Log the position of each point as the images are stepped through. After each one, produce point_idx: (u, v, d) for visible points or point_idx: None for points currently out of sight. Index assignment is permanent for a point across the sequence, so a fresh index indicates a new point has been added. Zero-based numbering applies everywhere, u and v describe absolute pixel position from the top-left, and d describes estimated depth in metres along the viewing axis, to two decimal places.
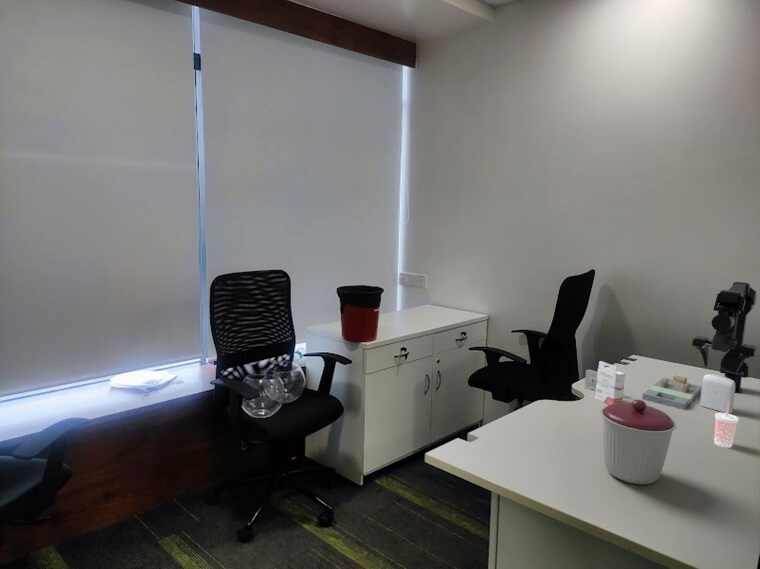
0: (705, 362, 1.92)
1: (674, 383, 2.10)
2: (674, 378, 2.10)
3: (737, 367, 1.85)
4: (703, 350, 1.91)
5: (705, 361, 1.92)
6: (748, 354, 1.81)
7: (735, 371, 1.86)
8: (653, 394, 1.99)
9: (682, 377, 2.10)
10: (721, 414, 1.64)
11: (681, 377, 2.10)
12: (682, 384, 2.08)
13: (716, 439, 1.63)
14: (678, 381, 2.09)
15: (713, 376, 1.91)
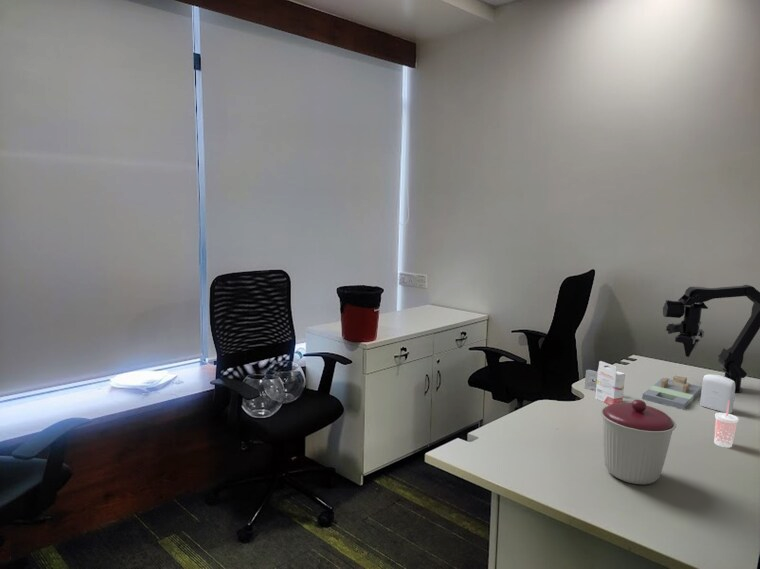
0: None
1: (674, 383, 2.10)
2: (674, 378, 2.10)
3: None
4: None
5: None
6: None
7: None
8: (653, 394, 1.99)
9: (682, 377, 2.10)
10: (721, 414, 1.64)
11: (681, 377, 2.10)
12: (682, 384, 2.08)
13: (716, 439, 1.63)
14: (678, 381, 2.09)
15: (713, 376, 1.91)
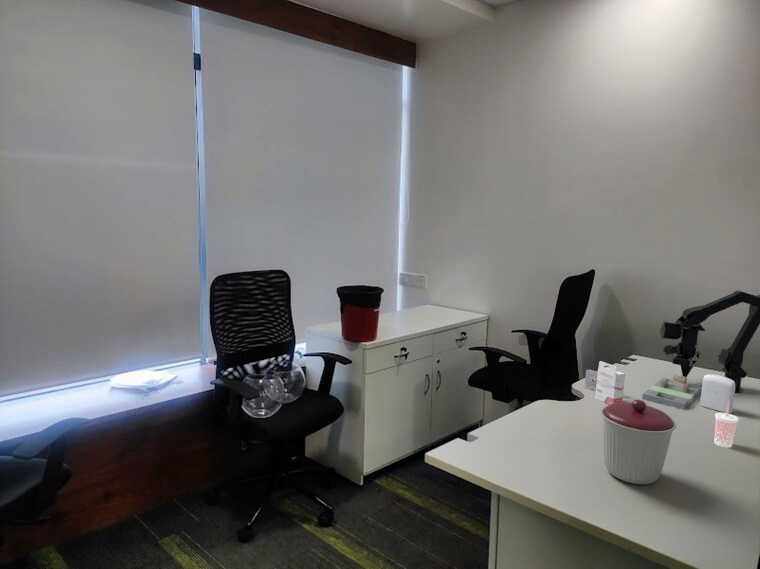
0: None
1: (674, 383, 2.10)
2: (674, 378, 2.10)
3: None
4: None
5: None
6: None
7: None
8: (653, 394, 1.99)
9: (682, 377, 2.10)
10: (721, 414, 1.64)
11: (681, 377, 2.10)
12: (682, 384, 2.08)
13: (716, 439, 1.63)
14: (678, 381, 2.09)
15: (713, 376, 1.91)
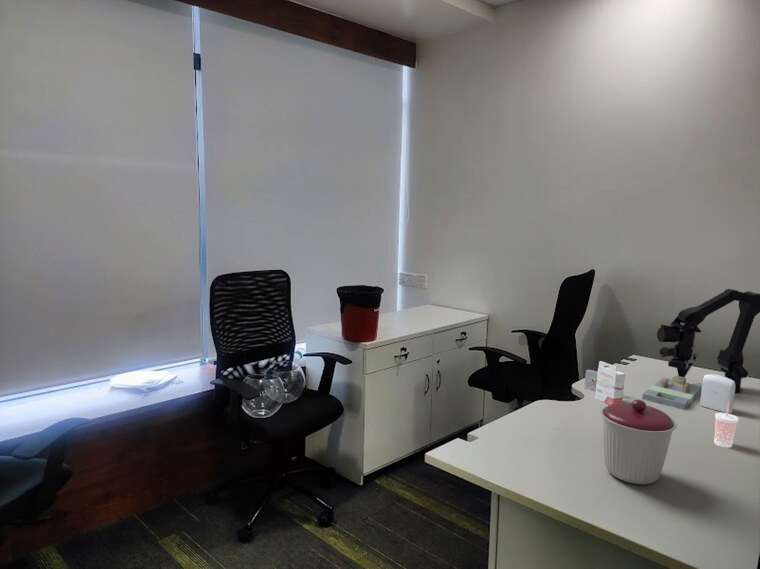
0: (679, 375, 2.13)
1: (673, 384, 2.09)
2: (673, 379, 2.09)
3: None
4: None
5: None
6: None
7: None
8: (653, 394, 1.99)
9: (681, 378, 2.09)
10: (721, 414, 1.64)
11: (680, 378, 2.09)
12: (681, 385, 2.07)
13: (716, 439, 1.63)
14: (677, 382, 2.08)
15: (713, 376, 1.91)
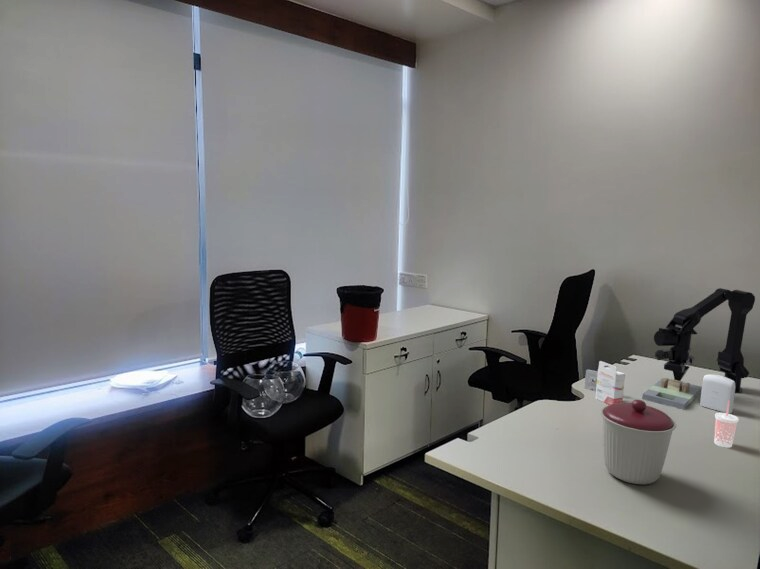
0: None
1: (669, 387, 2.05)
2: (669, 382, 2.05)
3: None
4: None
5: None
6: None
7: None
8: (653, 394, 1.99)
9: (677, 381, 2.05)
10: (721, 414, 1.64)
11: (676, 381, 2.05)
12: (677, 388, 2.03)
13: (716, 439, 1.63)
14: (673, 385, 2.04)
15: (713, 376, 1.91)
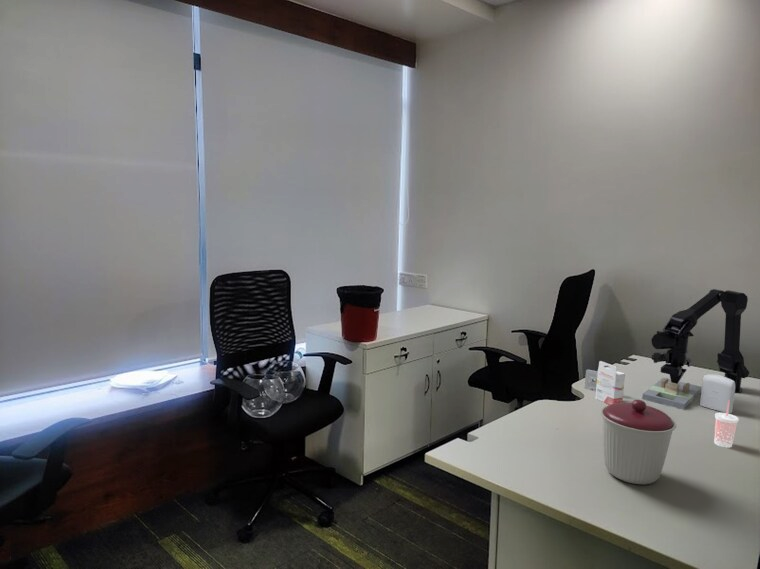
0: (672, 382, 2.05)
1: (666, 390, 2.02)
2: (666, 385, 2.01)
3: None
4: None
5: None
6: None
7: None
8: (653, 394, 1.99)
9: (674, 384, 2.01)
10: (721, 414, 1.64)
11: (673, 384, 2.01)
12: (674, 392, 2.00)
13: (716, 439, 1.63)
14: (670, 388, 2.00)
15: (713, 376, 1.91)
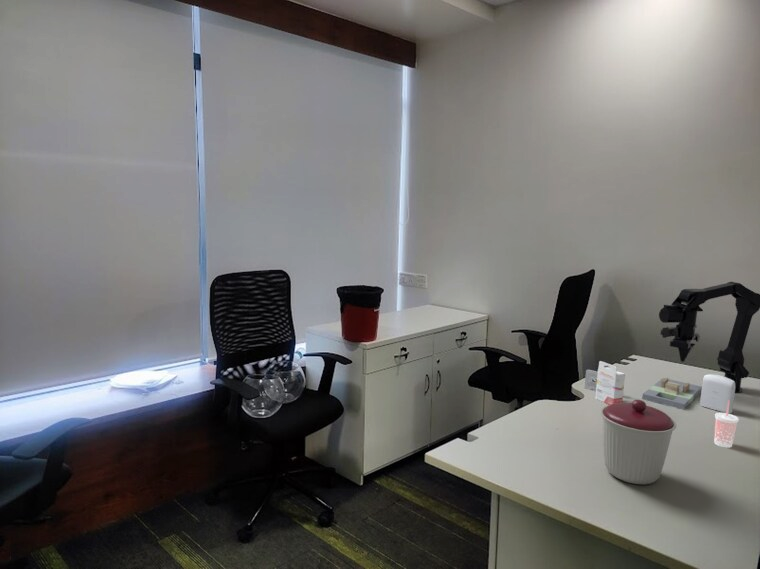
0: None
1: (666, 390, 2.02)
2: (666, 385, 2.01)
3: None
4: None
5: None
6: None
7: (680, 359, 2.08)
8: (653, 394, 1.99)
9: (674, 384, 2.01)
10: (721, 414, 1.64)
11: (673, 384, 2.01)
12: (674, 392, 2.00)
13: (716, 439, 1.63)
14: (670, 388, 2.00)
15: (713, 376, 1.91)
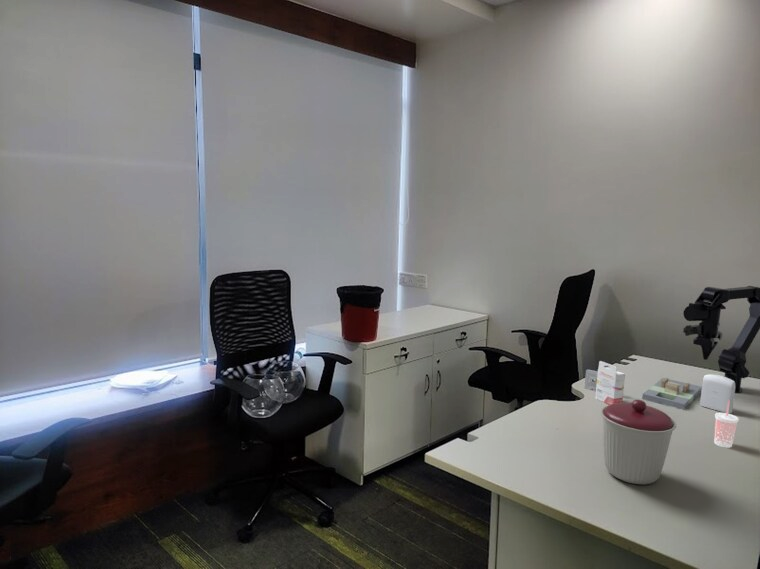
0: None
1: (666, 390, 2.02)
2: (666, 385, 2.01)
3: (703, 353, 2.07)
4: None
5: None
6: None
7: None
8: (653, 394, 1.99)
9: (674, 384, 2.01)
10: (721, 414, 1.64)
11: (673, 384, 2.01)
12: (674, 392, 2.00)
13: (716, 439, 1.63)
14: (670, 388, 2.00)
15: (713, 376, 1.91)
